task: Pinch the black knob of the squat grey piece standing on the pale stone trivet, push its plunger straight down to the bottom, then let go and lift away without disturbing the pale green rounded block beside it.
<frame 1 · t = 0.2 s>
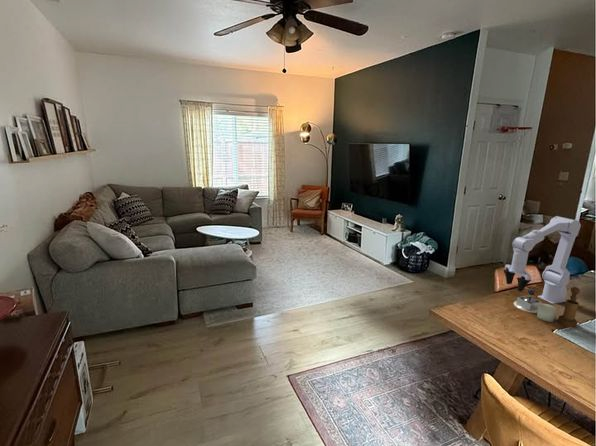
hand: (514, 287, 153), 10 cm above the table, fingers open, 7 cm apart
trivet: (527, 307, 154), on the table
grey piece: (528, 306, 154), resting on trivet
plunger: (530, 295, 152), point 6 cm above the table, slide at 2.8 cm
mortar and pestle: (566, 324, 140), on the table
pale green rounded block: (545, 318, 144), on the table
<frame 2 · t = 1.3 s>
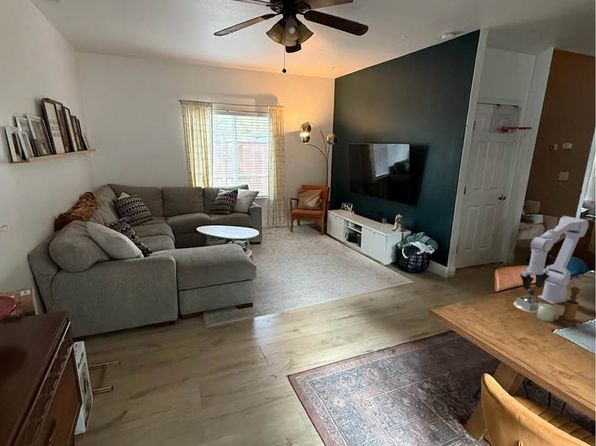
hand: (531, 288, 151), 10 cm above the table, fingers open, 7 cm apart
nothing on the table moved.
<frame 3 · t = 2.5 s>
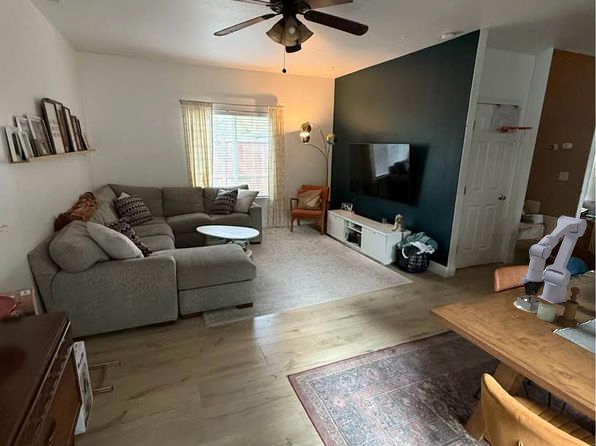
hand: (530, 294, 152), 7 cm above the table, fingers closed on plunger, 3 cm apart
plunger: (530, 295, 152), point 6 cm above the table, slide at 2.8 cm, touching gripper
everything else where it was.
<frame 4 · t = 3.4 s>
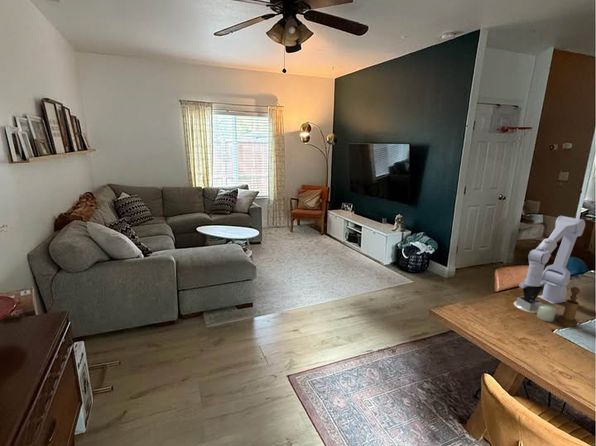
hand: (529, 299, 153), 4 cm above the table, fingers closed on plunger, 3 cm apart
plunger: (529, 300, 153), point 4 cm above the table, slide at 0.2 cm, touching gripper
everything else where it was.
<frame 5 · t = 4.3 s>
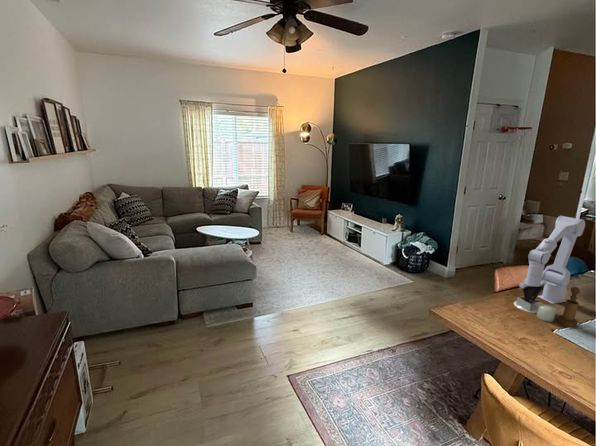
hand: (529, 299, 153), 4 cm above the table, fingers closed on plunger, 3 cm apart
plunger: (529, 300, 153), point 4 cm above the table, slide at 0.2 cm, touching gripper
everything else where it was.
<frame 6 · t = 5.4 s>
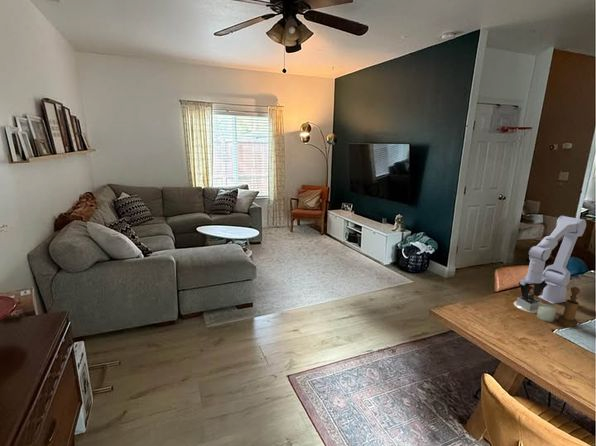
hand: (530, 296, 152), 6 cm above the table, fingers open, 7 cm apart
plunger: (529, 300, 153), point 4 cm above the table, slide at 0.2 cm
everything else where it was.
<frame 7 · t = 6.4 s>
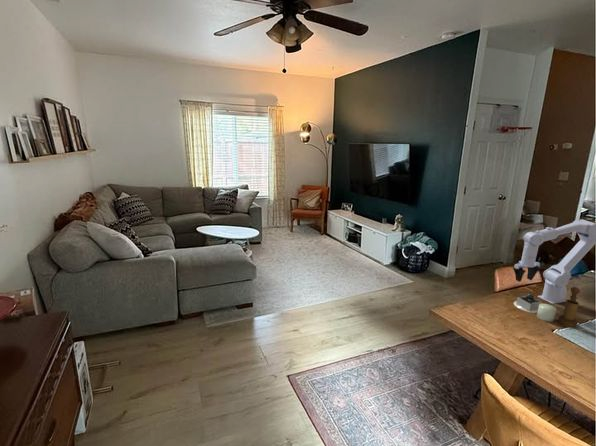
hand: (523, 280, 160), 10 cm above the table, fingers open, 7 cm apart
nothing on the table moved.
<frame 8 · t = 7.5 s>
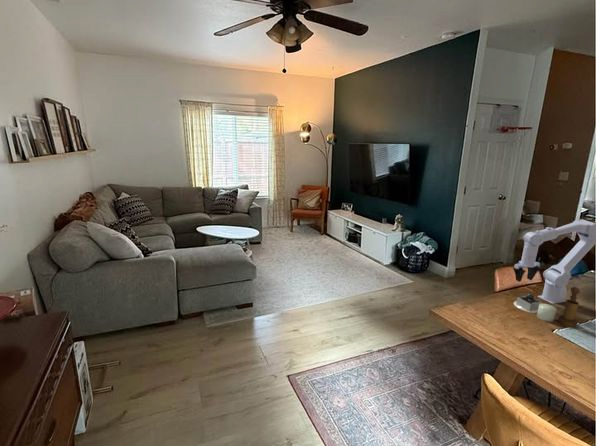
hand: (523, 280, 160), 10 cm above the table, fingers open, 7 cm apart
nothing on the table moved.
at the end: plunger slide at 0.2 cm; the gripper is holding nothing; pale green rounded block moved 0.1 cm from its start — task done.
